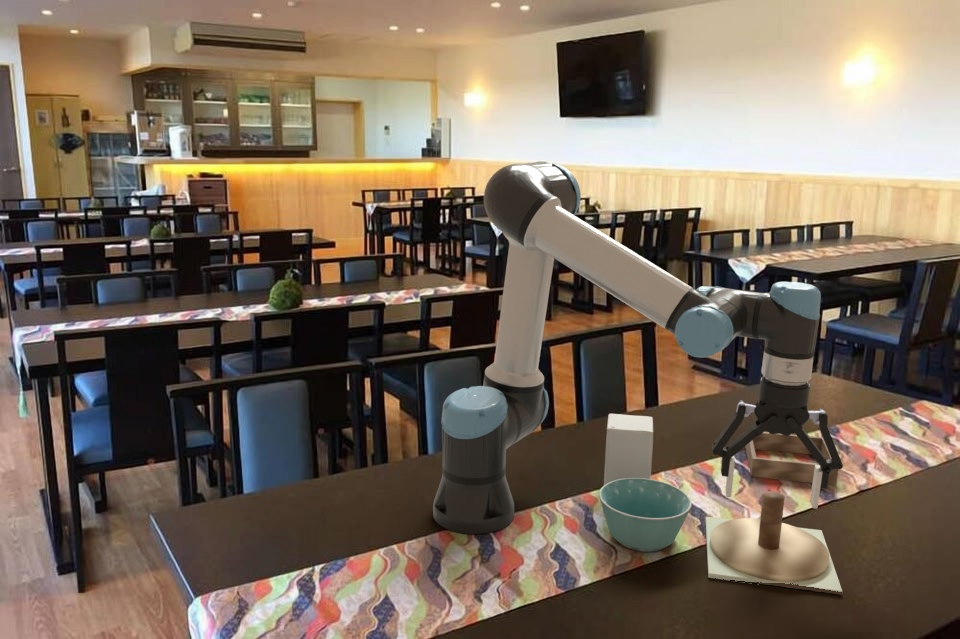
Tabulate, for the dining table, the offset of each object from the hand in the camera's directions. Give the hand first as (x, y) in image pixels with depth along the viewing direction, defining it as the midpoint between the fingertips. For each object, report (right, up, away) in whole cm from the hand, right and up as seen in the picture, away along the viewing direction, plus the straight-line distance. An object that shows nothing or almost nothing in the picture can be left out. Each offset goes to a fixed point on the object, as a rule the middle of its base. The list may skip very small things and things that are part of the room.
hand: (770, 499), depth 134 cm
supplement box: (-20, -5, +25) cm, 32 cm away
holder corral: (+18, -1, +39) cm, 43 cm away
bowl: (-20, -9, +7) cm, 23 cm away
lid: (0, -9, +2) cm, 9 cm away
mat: (0, -10, +2) cm, 10 cm away
